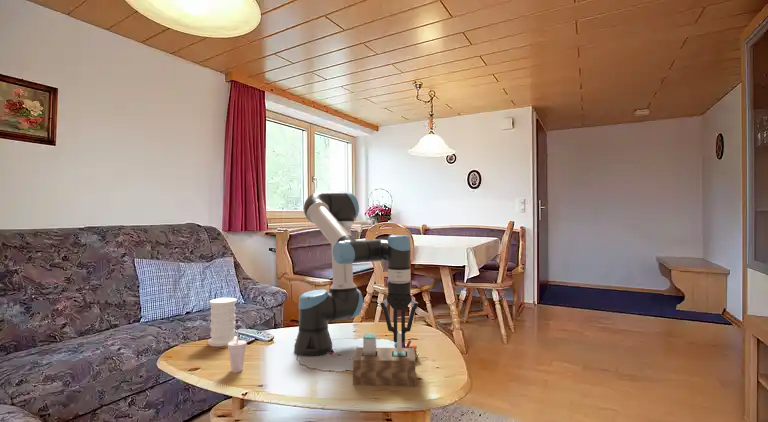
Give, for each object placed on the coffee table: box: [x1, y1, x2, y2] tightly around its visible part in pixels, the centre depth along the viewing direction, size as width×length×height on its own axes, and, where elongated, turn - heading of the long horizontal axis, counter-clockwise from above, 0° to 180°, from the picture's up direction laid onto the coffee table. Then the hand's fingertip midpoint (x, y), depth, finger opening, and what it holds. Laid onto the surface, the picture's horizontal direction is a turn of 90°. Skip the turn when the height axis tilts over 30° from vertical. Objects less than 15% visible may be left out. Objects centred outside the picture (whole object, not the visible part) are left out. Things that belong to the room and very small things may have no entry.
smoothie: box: [227, 330, 248, 373], centre depth 138 cm, size 6×6×14 cm
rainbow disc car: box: [394, 340, 418, 359], centre depth 149 cm, size 8×10×7 cm
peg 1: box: [362, 333, 377, 356], centre depth 132 cm, size 4×4×8 cm
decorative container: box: [208, 297, 237, 347], centre depth 169 cm, size 12×12×18 cm
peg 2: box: [393, 351, 406, 357], centre depth 131 cm, size 4×4×8 cm
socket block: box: [352, 347, 416, 387], centre depth 131 cm, size 20×12×8 cm, turn 88°
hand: (399, 351), depth 131 cm, fingers closed
